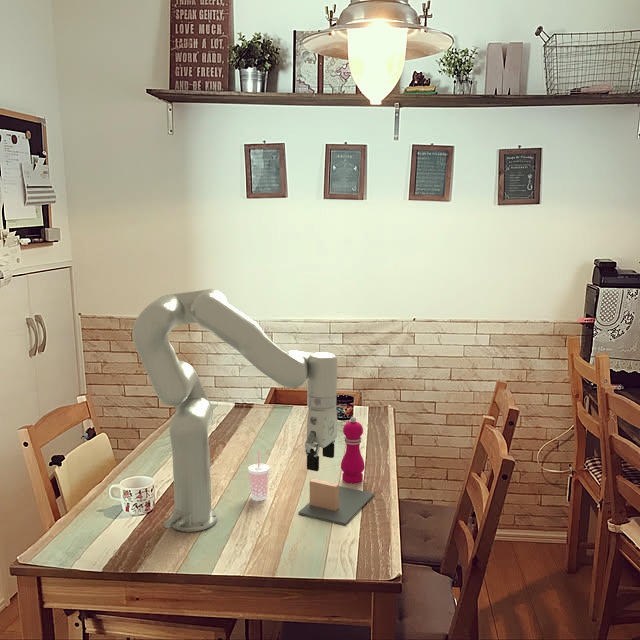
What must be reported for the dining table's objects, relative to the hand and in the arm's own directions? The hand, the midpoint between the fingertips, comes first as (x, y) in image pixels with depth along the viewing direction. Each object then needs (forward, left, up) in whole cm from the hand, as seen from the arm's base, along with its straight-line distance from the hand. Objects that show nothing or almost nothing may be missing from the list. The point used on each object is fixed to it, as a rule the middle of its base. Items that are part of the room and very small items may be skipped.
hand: (320, 463), depth 174 cm
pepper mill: (+27, +3, -16) cm, 32 cm away
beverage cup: (+4, +22, -16) cm, 27 cm away
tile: (+6, +2, -15) cm, 17 cm away
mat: (+10, 0, -16) cm, 19 cm away
